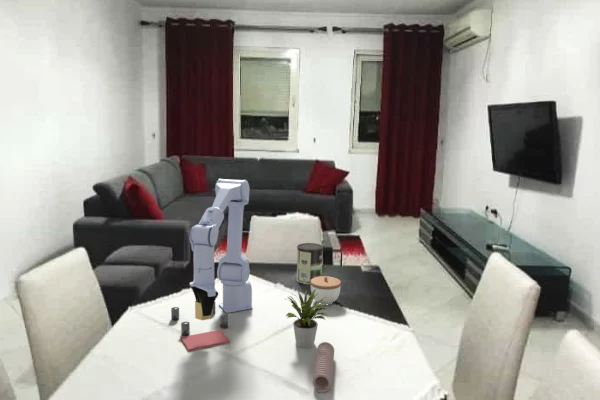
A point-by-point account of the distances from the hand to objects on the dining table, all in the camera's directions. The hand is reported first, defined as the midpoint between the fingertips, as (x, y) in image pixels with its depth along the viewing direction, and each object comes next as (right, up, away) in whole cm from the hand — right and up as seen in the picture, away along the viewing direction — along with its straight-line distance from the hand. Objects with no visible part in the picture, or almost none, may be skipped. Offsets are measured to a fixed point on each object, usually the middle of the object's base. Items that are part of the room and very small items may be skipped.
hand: (204, 312), depth 137 cm
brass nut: (0, -1, 0) cm, 1 cm away
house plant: (+28, -10, 0) cm, 30 cm away
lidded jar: (+36, -4, +32) cm, 49 cm away
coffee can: (+31, 0, +54) cm, 62 cm away
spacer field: (-4, -6, +12) cm, 15 cm away
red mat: (0, -9, +1) cm, 9 cm away
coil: (+34, -13, -15) cm, 39 cm away
